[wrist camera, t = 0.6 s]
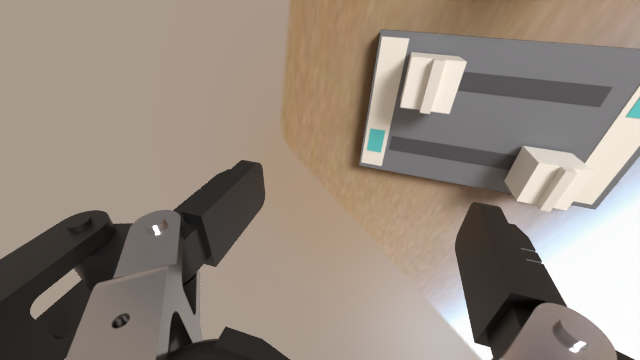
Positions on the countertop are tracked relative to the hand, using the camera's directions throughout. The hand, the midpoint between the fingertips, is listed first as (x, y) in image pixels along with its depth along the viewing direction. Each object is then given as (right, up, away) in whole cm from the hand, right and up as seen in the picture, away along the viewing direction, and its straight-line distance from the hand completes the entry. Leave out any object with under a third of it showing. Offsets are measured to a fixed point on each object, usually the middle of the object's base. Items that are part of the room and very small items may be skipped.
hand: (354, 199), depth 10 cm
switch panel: (+16, +7, +16) cm, 23 cm away
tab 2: (+20, +2, +15) cm, 25 cm away
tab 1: (+9, +10, +14) cm, 19 cm away
